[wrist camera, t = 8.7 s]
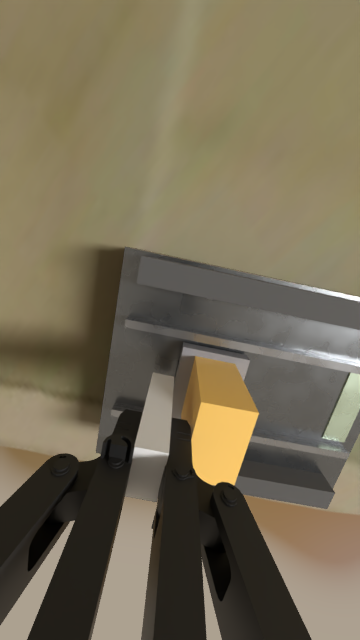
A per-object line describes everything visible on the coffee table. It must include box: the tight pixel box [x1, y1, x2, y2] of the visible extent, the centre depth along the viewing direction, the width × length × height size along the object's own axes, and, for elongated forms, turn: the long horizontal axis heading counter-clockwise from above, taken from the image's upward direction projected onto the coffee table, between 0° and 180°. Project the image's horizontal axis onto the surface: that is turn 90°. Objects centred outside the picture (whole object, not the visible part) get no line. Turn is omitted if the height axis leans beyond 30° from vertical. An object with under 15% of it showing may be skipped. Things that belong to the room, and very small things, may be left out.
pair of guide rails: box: [137, 256, 360, 509], centre depth 19 cm, size 17×19×2 cm
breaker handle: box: [172, 342, 259, 485], centre depth 16 cm, size 6×5×7 cm
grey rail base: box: [96, 247, 360, 489], centre depth 21 cm, size 18×22×5 cm
